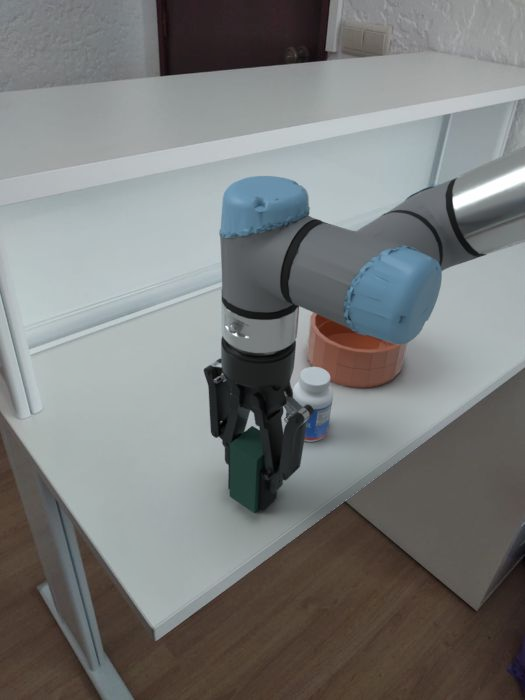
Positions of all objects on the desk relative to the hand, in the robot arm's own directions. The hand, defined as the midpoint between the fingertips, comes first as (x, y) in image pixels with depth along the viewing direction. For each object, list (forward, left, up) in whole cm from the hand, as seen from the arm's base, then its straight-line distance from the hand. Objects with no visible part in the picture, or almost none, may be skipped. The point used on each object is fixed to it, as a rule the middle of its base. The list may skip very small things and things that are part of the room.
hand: (252, 493), depth 71 cm
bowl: (+5, -33, 0) cm, 33 cm away
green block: (0, 0, 0) cm, 0 cm away
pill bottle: (+1, -14, -1) cm, 14 cm away
